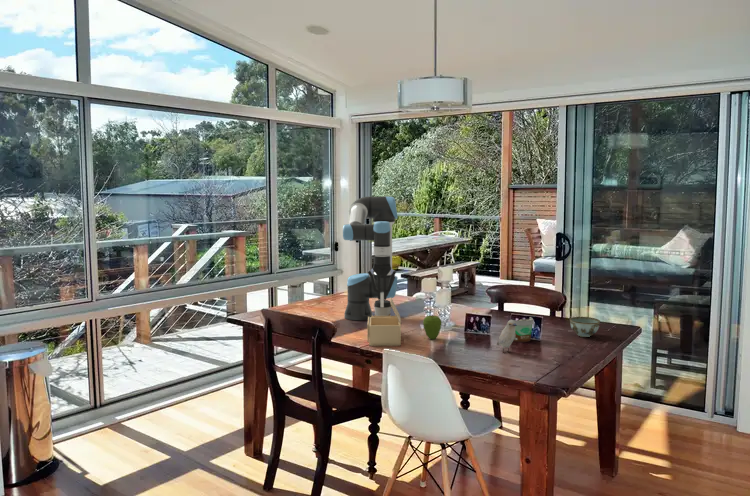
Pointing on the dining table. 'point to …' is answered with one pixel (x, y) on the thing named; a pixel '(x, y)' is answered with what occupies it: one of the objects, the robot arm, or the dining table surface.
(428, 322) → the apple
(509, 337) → the bird
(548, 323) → the dining table surface
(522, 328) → the food container
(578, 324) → the bowl
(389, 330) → the carton
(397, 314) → the flap
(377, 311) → the coffee cup
